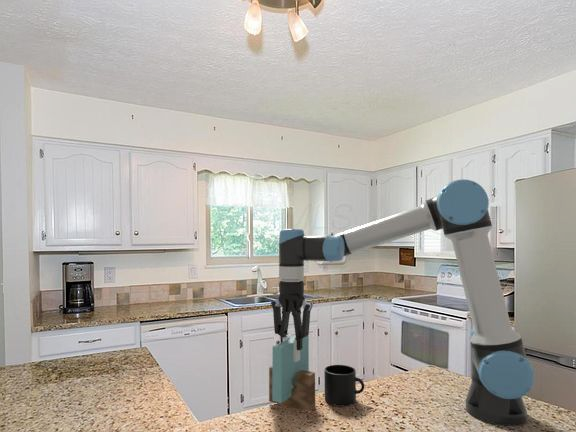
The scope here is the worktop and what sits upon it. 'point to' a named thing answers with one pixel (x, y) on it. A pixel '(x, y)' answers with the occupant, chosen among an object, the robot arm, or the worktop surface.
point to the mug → (341, 385)
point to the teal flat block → (287, 368)
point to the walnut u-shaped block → (299, 391)
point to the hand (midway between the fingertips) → (291, 359)
